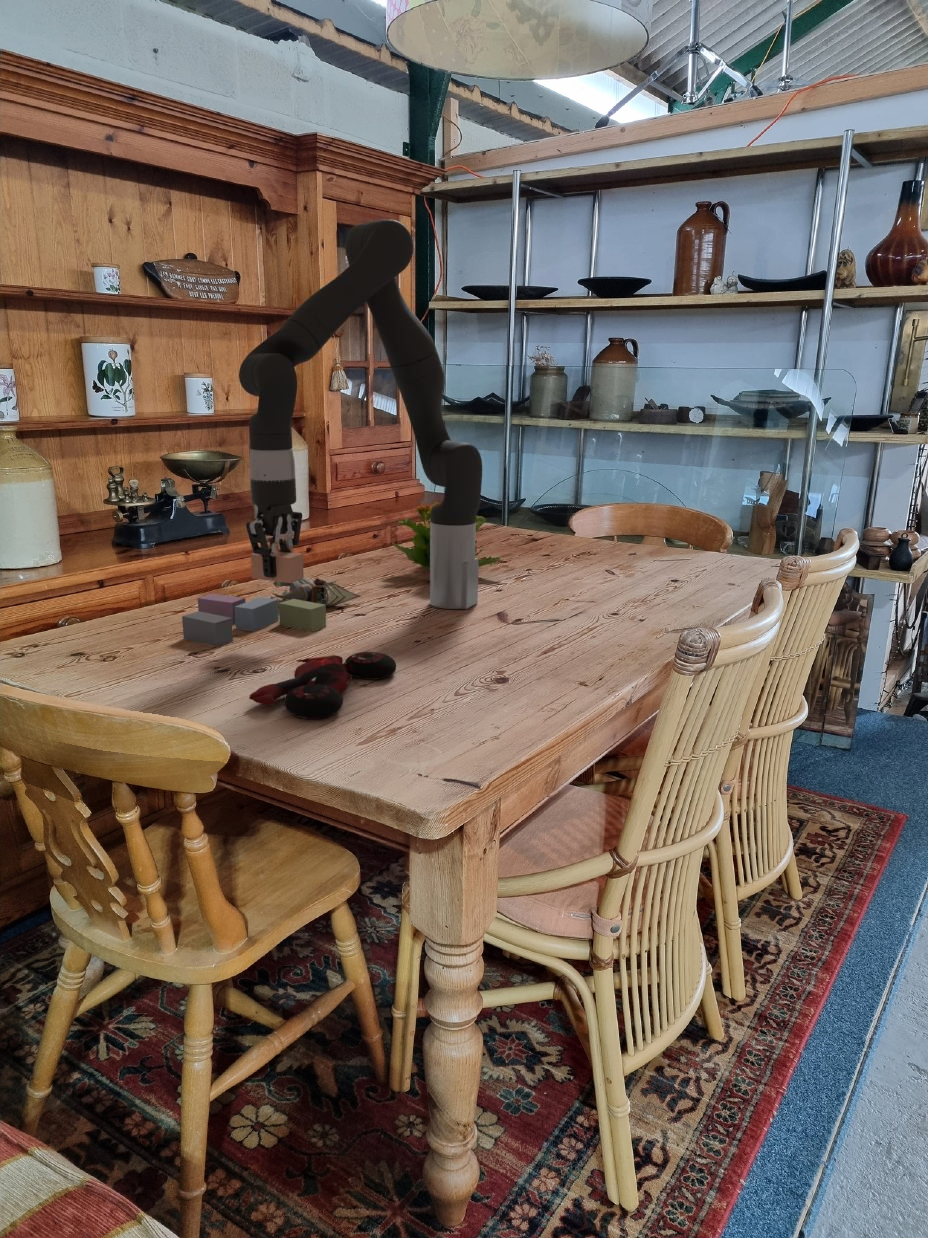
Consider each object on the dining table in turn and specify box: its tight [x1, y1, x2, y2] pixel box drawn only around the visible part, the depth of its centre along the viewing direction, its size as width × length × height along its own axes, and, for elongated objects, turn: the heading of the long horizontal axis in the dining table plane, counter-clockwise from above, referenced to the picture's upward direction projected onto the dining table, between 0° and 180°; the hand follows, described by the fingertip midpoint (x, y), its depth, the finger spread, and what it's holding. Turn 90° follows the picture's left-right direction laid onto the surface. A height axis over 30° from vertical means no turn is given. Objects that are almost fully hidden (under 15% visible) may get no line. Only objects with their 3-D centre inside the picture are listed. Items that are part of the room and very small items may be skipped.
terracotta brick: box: [250, 550, 305, 583], centre depth 152 cm, size 8×4×4 cm, turn 67°
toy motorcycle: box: [248, 651, 397, 720], centre depth 131 cm, size 25×5×16 cm
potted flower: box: [391, 501, 504, 571], centre depth 205 cm, size 25×24×18 cm
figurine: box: [270, 577, 362, 607], centre depth 179 cm, size 20×6×17 cm
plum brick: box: [197, 593, 246, 626], centre depth 167 cm, size 8×4×4 cm, turn 67°
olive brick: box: [278, 599, 327, 632], centre depth 164 cm, size 8×4×4 cm, turn 58°
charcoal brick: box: [181, 611, 234, 647], centre depth 154 cm, size 8×4×4 cm, turn 60°
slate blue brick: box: [235, 596, 280, 632], centre depth 164 cm, size 8×4×4 cm, turn 158°
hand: (278, 573), depth 153 cm, fingers closed on terracotta brick, 4 cm apart
